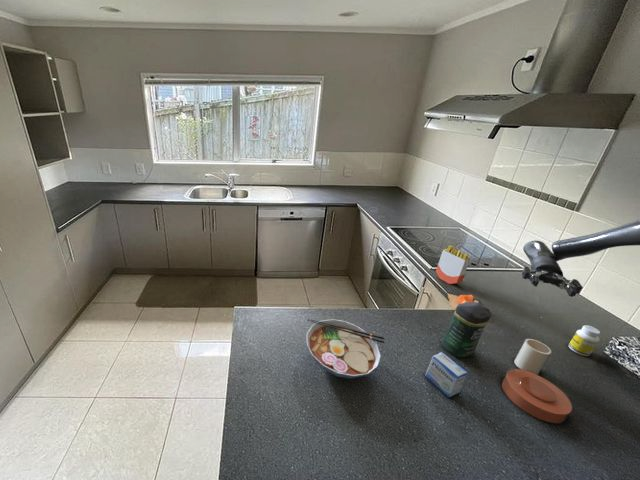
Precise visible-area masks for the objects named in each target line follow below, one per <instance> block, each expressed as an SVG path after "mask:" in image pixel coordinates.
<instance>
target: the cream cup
mask: <svg viewBox="0 0 640 480" xmlns="http://www.w3.org/2000/svg"><path fill="white" fill-rule="evenodd" d="M551 354H552V350H551V348H550V347H549V346H547V345H546V344H545V343H543V342H542V341H539V340H537V339H532V338H526V339H525V340H524V341H523V343H522V346H521V347H520V349H519V351H518V353H517V354H516V356H515V358H514V361H513V362H514V364H515V366H516V367H517V368H518V369H520V370H525V371H528V372H531V373H534V374H536V375H539V374H540V372H541V371H542V370H543V367H544V366H545V364H546V363H547V361H548V360H549V357H550V356H551Z"/></svg>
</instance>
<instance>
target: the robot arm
mask: <svg viewBox="0 0 640 480" xmlns="http://www.w3.org/2000/svg"><path fill="white" fill-rule="evenodd" d="M630 246H640V219H637V220H635V221H631V222H628V223H625V224H622V225H619V226H615V227H612V228H609V229H605V230H602V231H598V232H595V233H591V234H586V235H581V236H575V237H571V238H565V239H561V240H556V241H553V243H552V244H551V249H550V248H549V247H548V245H546V243H545V242H544V241H541V240H531V241H528V242H526V243H525V244H524V245H523V249H522V250H523V252H524V254H525V255H526V257H527V258H528V260H529V263H530V267H528V266H524V267H523V269H522V270H521V278H522V279H524V280H528V281H529V282H530V284H531V285H533V287H538V285H539V283H543V284H550V285H552V286H555V287H557V288H558V289H560V290H564V291H566V293H567V295H568V297H571V298H573V297H575V296H576V295H577V294H578V295H580V294H581V292H582V290H583V288H584V287H583V285H582V283H580V282H579V280H578V279H575V278H573V279H572V280H570V279H567V278H566V277H565V276H564V272H563V270H562V268H561V266H560V264H559V263H558V262H560V261H562V260H565V259H570V258H571V259H572V258H578V257H584V256H590V255H594V254H597V253H599V252H602V251H605V250H607V249H611V248H617V247H630Z"/></svg>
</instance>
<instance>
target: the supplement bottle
mask: <svg viewBox="0 0 640 480" xmlns="http://www.w3.org/2000/svg"><path fill="white" fill-rule="evenodd" d="M600 334H601V330H599V329H598V328H596V327H594V326H592V325H587V324H585V325H583V326H582V327H581V328H580V329H577V330H576V332H575V334H574V335H573V336H572V338H571V340H570V342H569V343H568V348H569V349H570V350H571V351H572V352H574V353H576V354H578V355H580V356H585V357H589V356H590V355H592V353H593V351H594V350H595V348H596V347H597V345H598V344H599V342H600V337H599V336H600Z"/></svg>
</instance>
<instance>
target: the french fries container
mask: <svg viewBox="0 0 640 480" xmlns="http://www.w3.org/2000/svg"><path fill="white" fill-rule="evenodd" d="M439 257H440V258H439V260H438V264H437V266H436V270H435V273H436V275H437V277H438V279H440V280H442V281H443V282H445V283H446V284H449V285H452V284H458V283H462V282H463V281H464V278H465V276H466V272H467V269H468V265H469V261H470V259H471V257H469V254H467V253H463V252H462V250H461V249H458V250H457V249H456V247H454V246H452V245H448V246H447V248H444V249H442V252H441V255H440V256H439Z"/></svg>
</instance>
